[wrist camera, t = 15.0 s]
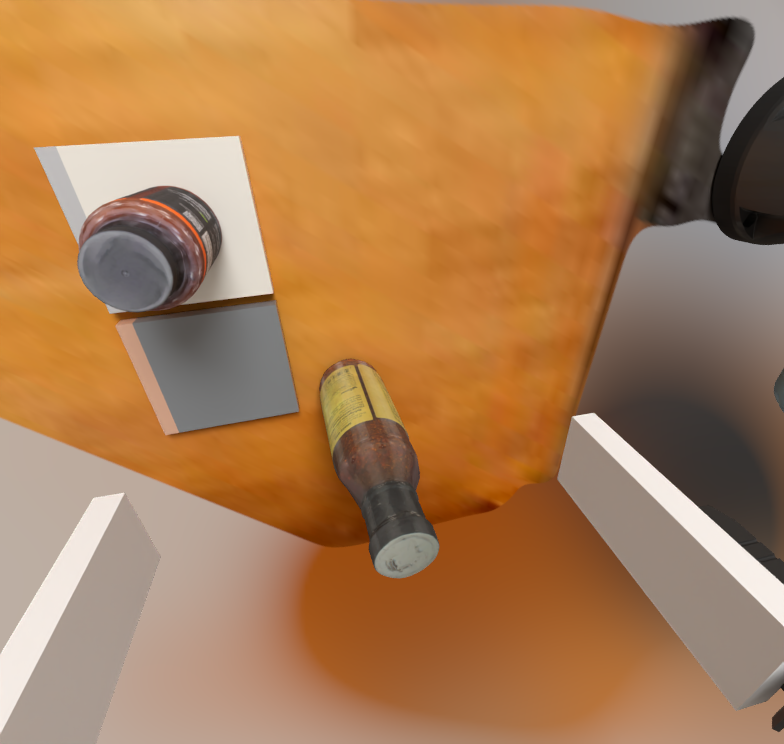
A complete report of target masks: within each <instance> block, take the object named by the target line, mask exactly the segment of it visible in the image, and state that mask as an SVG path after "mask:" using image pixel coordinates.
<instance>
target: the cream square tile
mask: <svg viewBox="0 0 784 744" xmlns="http://www.w3.org/2000/svg"><path fill="white" fill-rule="evenodd" d="M34 149H35V151H36V153H37V155H38V157H39V160H40V162H41V164H42V166H43V168H44V171H45V173H46V175H47V177H48V179H49V182H50V184H51V186H52V188H53V190H54V192H55V195H56V197H57V199H58V201H59V203H60V206H61V208H62V210H63V212H64V214H65V217H66V219H67V221H68V223H69V225H70V228H71V230H72V232H73V234H74V236H75V238H76V241H77V243H78V245H79V235H80V231H81V228H82V226H83V224H84V222H85V220H86V219H87V218H88V216H89V215H90V214H91V213H92V212H94V211H95V210H96V209H97V208H99V207H100V206H102V205H103V204H106V203H108V202H111V201H114V200H116V199H119V198H122V197H125V196H128V195H131V194H134V193H137V192H139V191H142V190H145V189H148V188H151V187H156V186H175V187H179V188H183V189H186V190H188V191H190V192H192V193H194V194H195V195H197V196H199V197H200V198H201V199H202V200H203V201H205V202H206V203H207V204H208V206H209V207H210V208H211V209H212V211H213V212H214V213H215V215H216V217H217V219H218V221H219V224H220V227H221V232H222V243H221V248H220V252H219V254H218V256H217V258H216V260H215V261H214V263H213V265H212V266H211V268H210V270H209V272H208V273H207V275H206V277H205V278H204V280H203V282H202V284H201V285H200V287H199V288H198V290H197V291H196V292H195V294H194V295H193V296H192V297H191V298H189V299H188V300H187V301H186V302H184V303H182V304H181V305H184V304H192V303H200V302H208V301H216V300H224V299H232V298H240V297H248V296H256V295H264V294H272V293H273V291H274V288H273V283H272V279H271V274H270V270H269V265H268V260H267V256H266V251H265V247H264V242H263V237H262V233H261V228H260V224H259V219H258V214H257V210H256V205H255V201H254V196H253V191H252V187H251V182H250V178H249V173H248V168H247V164H246V159H245V155H244V150H243V145H242V141H241V136H230V137H212V138H195V139H177V140H160V141H142V142H125V143H107V144H90V145H72V146H54V147H37V148H34ZM106 306H107V308H108V311H109V313H110V314H111V313H119V312H127V311H123V310H119V309H116V308H114V307H111V306H109V305H107V304H106Z"/></svg>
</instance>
